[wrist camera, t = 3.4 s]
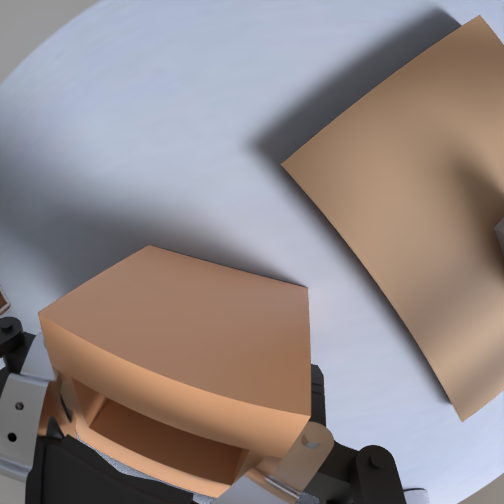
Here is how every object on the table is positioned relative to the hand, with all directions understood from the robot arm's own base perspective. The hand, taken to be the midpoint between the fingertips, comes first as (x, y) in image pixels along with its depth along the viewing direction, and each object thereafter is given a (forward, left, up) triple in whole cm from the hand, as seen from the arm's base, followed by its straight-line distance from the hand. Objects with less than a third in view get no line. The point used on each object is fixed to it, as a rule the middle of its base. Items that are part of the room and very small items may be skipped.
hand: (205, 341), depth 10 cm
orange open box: (0, 0, -1) cm, 1 cm away
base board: (-5, -12, -1) cm, 13 cm away
